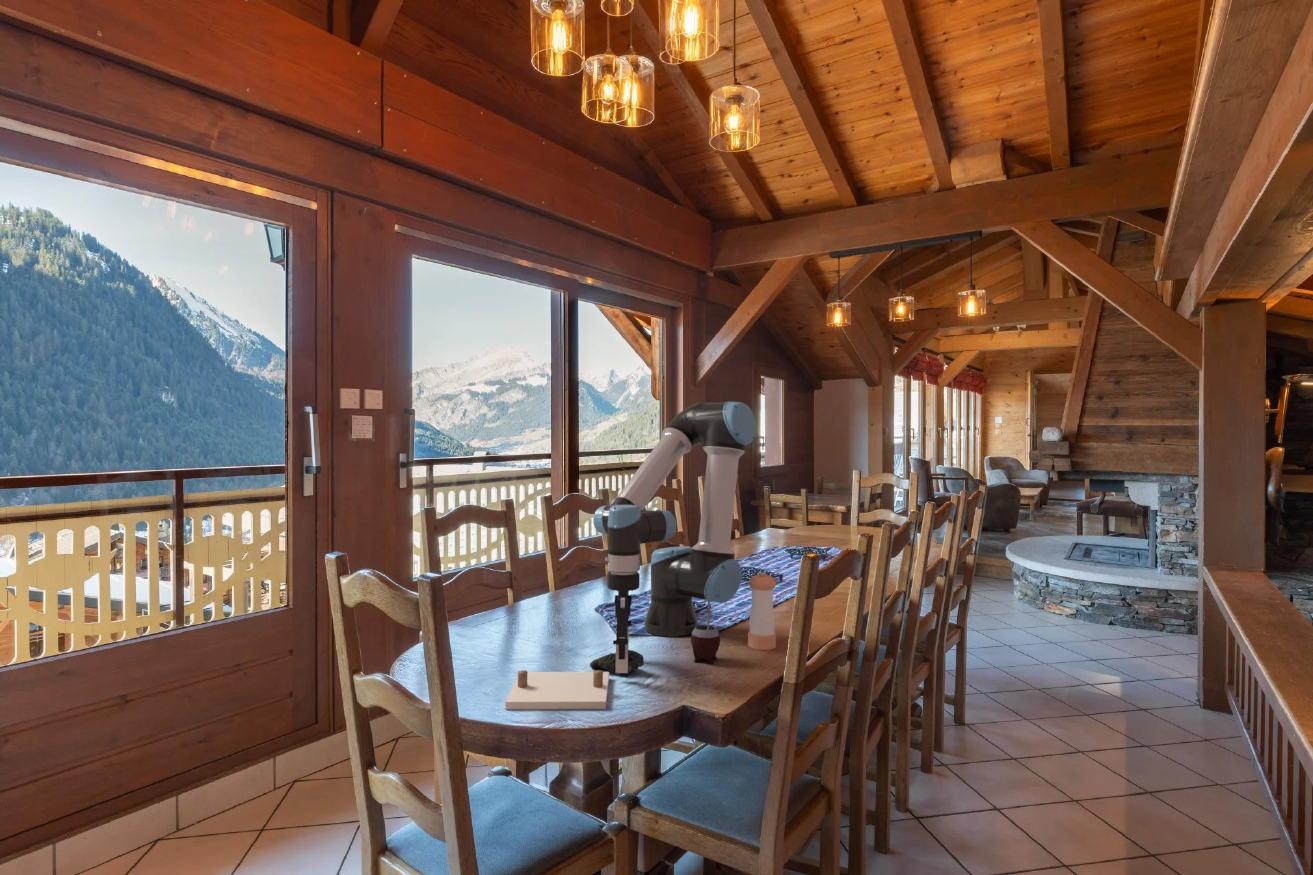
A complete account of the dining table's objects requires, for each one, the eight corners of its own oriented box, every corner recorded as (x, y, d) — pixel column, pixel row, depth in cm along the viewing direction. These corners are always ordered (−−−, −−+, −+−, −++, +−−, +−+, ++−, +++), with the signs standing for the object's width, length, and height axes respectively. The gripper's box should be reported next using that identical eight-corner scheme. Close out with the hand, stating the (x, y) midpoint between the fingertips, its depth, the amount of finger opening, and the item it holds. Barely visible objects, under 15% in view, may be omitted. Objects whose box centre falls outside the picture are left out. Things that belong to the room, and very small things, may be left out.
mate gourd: (700, 667, 161) (700, 604, 161) (683, 657, 168) (684, 596, 168) (726, 662, 165) (727, 600, 165) (709, 653, 172) (710, 593, 172)
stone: (597, 663, 164) (597, 641, 164) (648, 670, 159) (648, 647, 159) (584, 672, 158) (584, 649, 158) (637, 679, 153) (637, 656, 153)
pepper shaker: (779, 643, 180) (779, 571, 180) (771, 651, 173) (772, 576, 173) (752, 639, 183) (753, 568, 183) (744, 647, 176) (744, 573, 176)
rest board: (609, 678, 154) (609, 658, 153) (605, 708, 137) (605, 686, 136) (519, 678, 153) (520, 658, 153) (505, 709, 136) (505, 686, 136)
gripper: (609, 561, 171) (608, 646, 171) (604, 582, 146) (603, 681, 146) (639, 562, 172) (638, 646, 172) (639, 583, 147) (638, 681, 147)
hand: (622, 662), depth 159 cm, fingers open, 13 cm apart
